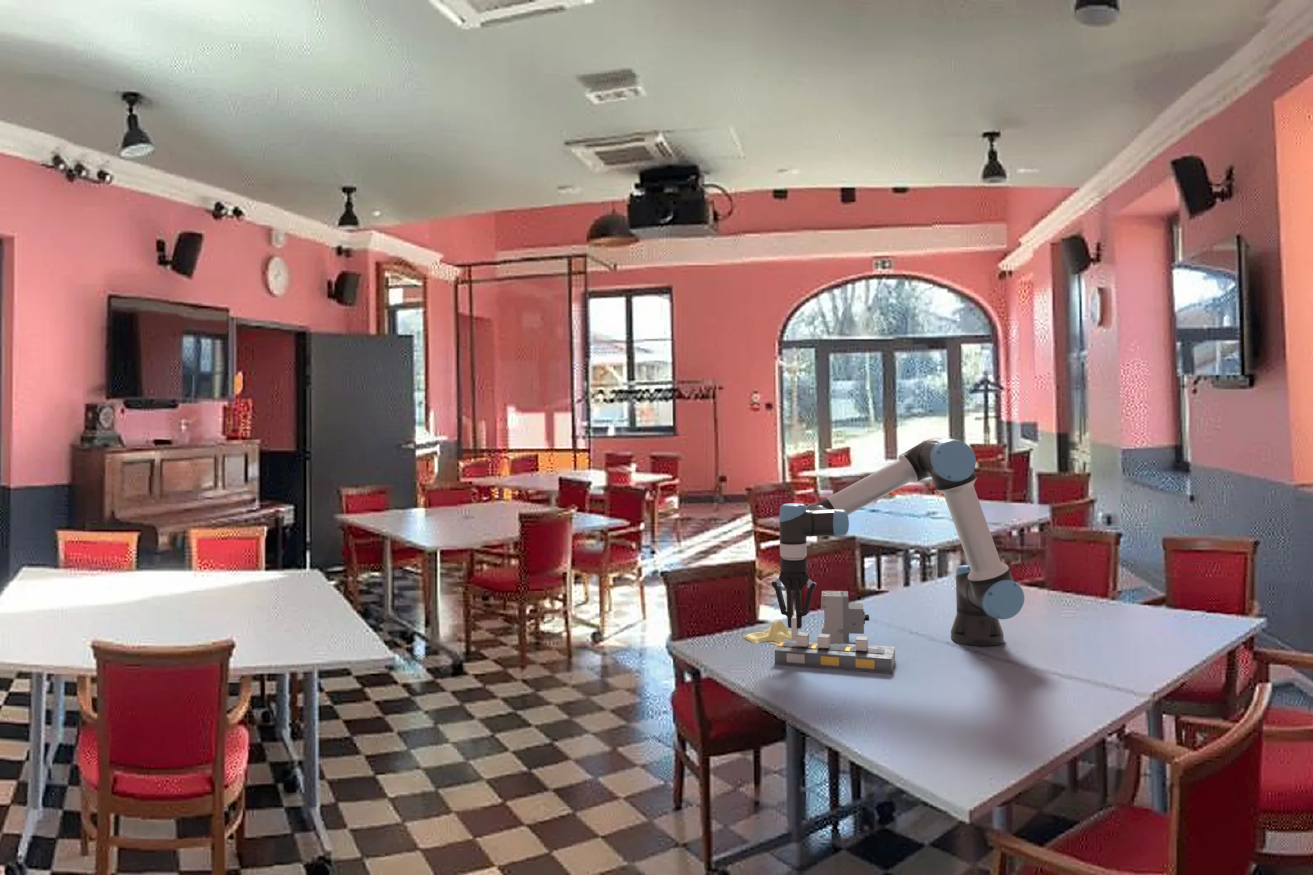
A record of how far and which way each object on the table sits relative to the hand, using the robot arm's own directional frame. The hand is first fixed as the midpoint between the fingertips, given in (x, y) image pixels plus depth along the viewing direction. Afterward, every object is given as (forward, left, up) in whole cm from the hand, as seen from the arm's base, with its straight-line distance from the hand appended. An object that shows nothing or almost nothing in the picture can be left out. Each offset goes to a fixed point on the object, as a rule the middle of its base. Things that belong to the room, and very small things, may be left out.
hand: (795, 639), depth 242 cm
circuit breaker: (-11, -22, -6) cm, 25 cm away
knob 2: (-8, 0, -1) cm, 8 cm away
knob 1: (-2, 0, -1) cm, 3 cm away
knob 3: (-19, 0, -1) cm, 19 cm away
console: (-11, 0, -6) cm, 13 cm away
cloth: (+9, -21, -7) cm, 24 cm away
